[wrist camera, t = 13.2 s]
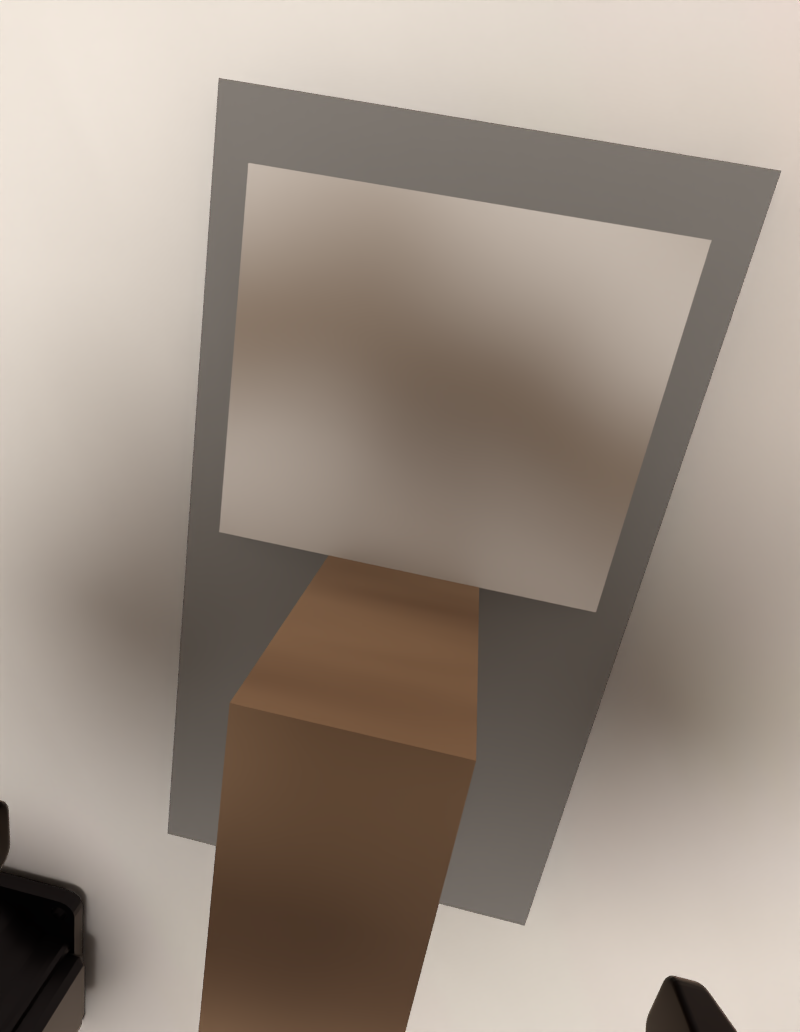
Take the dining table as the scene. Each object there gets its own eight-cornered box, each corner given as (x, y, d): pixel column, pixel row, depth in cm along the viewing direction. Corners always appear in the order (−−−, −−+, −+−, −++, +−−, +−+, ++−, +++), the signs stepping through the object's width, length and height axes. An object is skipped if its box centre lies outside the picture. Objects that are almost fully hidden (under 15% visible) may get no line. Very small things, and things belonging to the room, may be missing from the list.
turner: (497, 899, 16) (504, 1219, 10) (207, 826, 16) (61, 1091, 11) (695, 245, 11) (933, 157, 5) (264, 173, 11) (42, 22, 6)
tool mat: (178, 816, 17) (168, 833, 17) (231, 90, 11) (218, 77, 11) (523, 904, 17) (524, 925, 16) (765, 178, 11) (781, 170, 10)
